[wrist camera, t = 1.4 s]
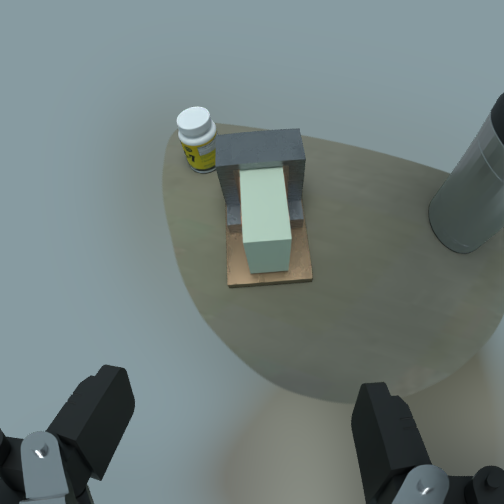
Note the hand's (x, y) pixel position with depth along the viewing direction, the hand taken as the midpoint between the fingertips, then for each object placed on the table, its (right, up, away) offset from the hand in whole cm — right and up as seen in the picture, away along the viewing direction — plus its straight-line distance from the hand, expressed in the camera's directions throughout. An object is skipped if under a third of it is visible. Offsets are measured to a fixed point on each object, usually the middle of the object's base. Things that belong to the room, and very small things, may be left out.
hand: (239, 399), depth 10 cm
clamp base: (+2, +9, +28) cm, 29 cm away
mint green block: (+2, +6, +25) cm, 26 cm away
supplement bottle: (-6, +17, +32) cm, 37 cm away
